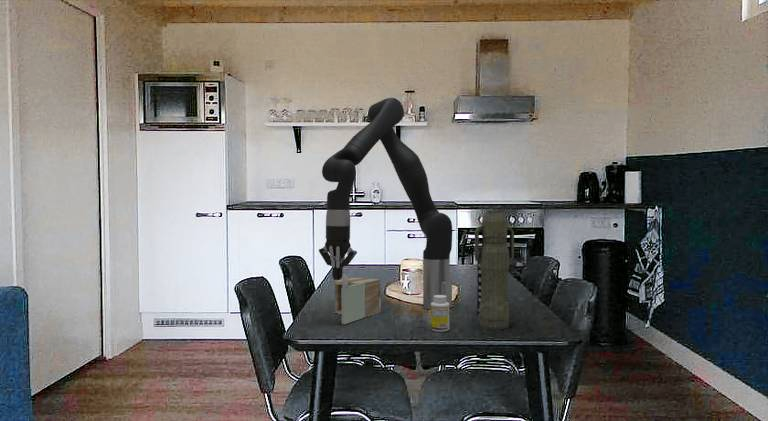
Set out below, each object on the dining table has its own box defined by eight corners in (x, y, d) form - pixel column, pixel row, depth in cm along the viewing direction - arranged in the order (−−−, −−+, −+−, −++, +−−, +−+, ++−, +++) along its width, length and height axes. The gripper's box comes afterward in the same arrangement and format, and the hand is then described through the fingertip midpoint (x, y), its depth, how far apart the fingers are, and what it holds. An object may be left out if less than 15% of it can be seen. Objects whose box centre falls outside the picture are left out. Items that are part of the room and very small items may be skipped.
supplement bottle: (438, 327, 200) (437, 293, 199) (453, 329, 196) (453, 295, 196) (427, 330, 196) (426, 296, 195) (442, 333, 192) (442, 298, 192)
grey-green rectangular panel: (362, 316, 214) (361, 268, 214) (366, 317, 214) (366, 268, 213) (340, 323, 204) (340, 273, 203) (345, 324, 203) (345, 273, 202)
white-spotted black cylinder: (487, 319, 211) (487, 256, 210) (472, 314, 218) (472, 254, 217) (508, 316, 215) (508, 255, 214) (492, 311, 222) (492, 252, 221)
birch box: (380, 312, 223) (380, 279, 222) (364, 317, 214) (364, 283, 214) (351, 308, 229) (350, 277, 228) (334, 313, 220) (334, 281, 220)
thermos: (518, 328, 198) (519, 211, 196) (481, 330, 195) (481, 212, 194) (506, 322, 207) (507, 210, 205) (471, 323, 204) (471, 210, 202)
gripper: (362, 224, 205) (361, 279, 206) (326, 222, 211) (325, 276, 212) (350, 226, 198) (349, 283, 199) (313, 223, 204) (312, 279, 205)
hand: (337, 279), depth 205 cm, fingers closed
